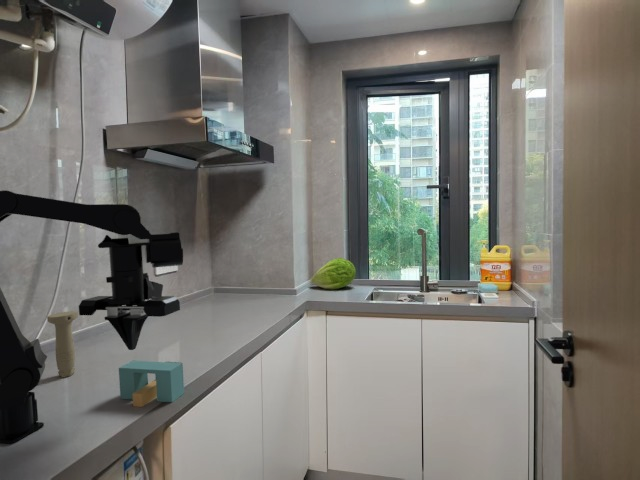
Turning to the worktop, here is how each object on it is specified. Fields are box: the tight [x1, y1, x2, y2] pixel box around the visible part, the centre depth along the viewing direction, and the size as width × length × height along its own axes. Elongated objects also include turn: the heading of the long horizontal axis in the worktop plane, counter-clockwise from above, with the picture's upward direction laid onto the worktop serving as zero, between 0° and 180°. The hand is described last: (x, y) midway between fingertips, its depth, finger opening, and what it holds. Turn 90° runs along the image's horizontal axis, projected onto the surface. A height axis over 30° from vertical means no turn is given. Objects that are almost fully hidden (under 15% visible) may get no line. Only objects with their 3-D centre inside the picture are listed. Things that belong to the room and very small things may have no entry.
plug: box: [132, 361, 182, 408], centre depth 92 cm, size 14×4×4 cm, turn 166°
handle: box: [46, 310, 79, 378], centre depth 104 cm, size 5×6×15 cm
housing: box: [118, 360, 185, 403], centre depth 89 cm, size 4×12×6 cm, turn 77°
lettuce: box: [310, 257, 357, 290], centre depth 218 cm, size 15×25×16 cm
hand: (132, 349), depth 84 cm, fingers closed
